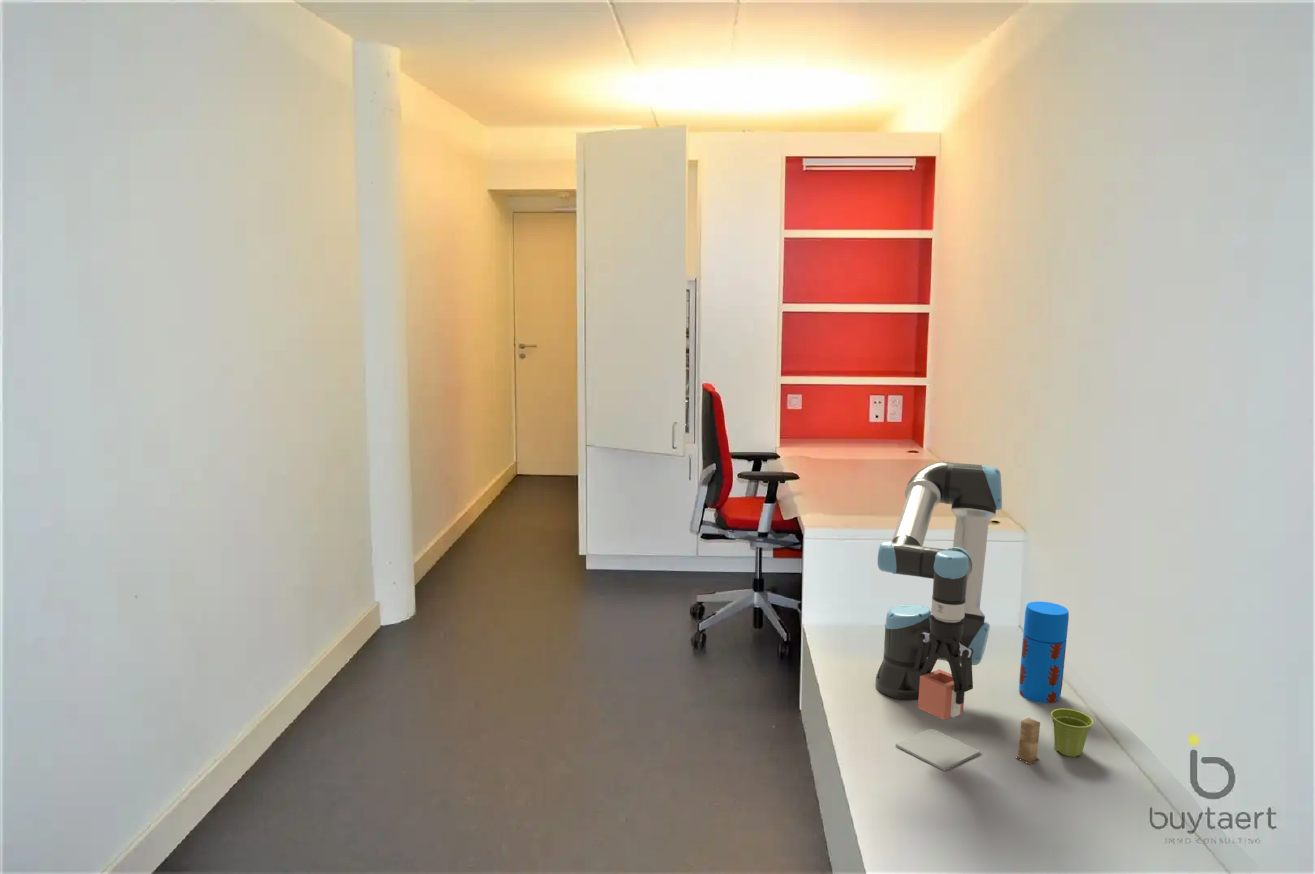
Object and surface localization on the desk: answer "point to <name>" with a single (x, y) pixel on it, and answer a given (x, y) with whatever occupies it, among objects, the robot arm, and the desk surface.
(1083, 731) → the plant pot
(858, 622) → the desk surface
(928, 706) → the salmon square sleeve
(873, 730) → the desk surface
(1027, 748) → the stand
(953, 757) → the coaster
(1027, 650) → the thermos
